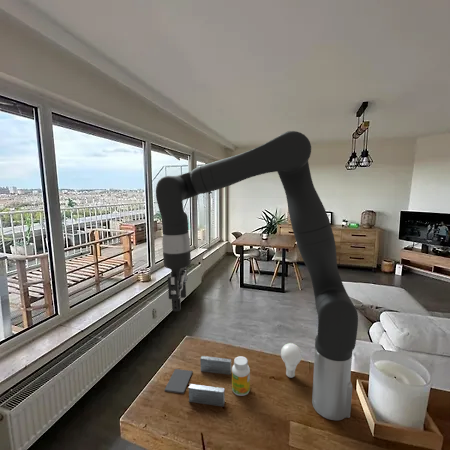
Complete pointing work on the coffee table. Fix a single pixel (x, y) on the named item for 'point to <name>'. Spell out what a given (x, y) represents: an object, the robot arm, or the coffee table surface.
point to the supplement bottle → (240, 376)
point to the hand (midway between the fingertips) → (179, 303)
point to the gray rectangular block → (178, 381)
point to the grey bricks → (206, 392)
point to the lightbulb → (291, 358)
